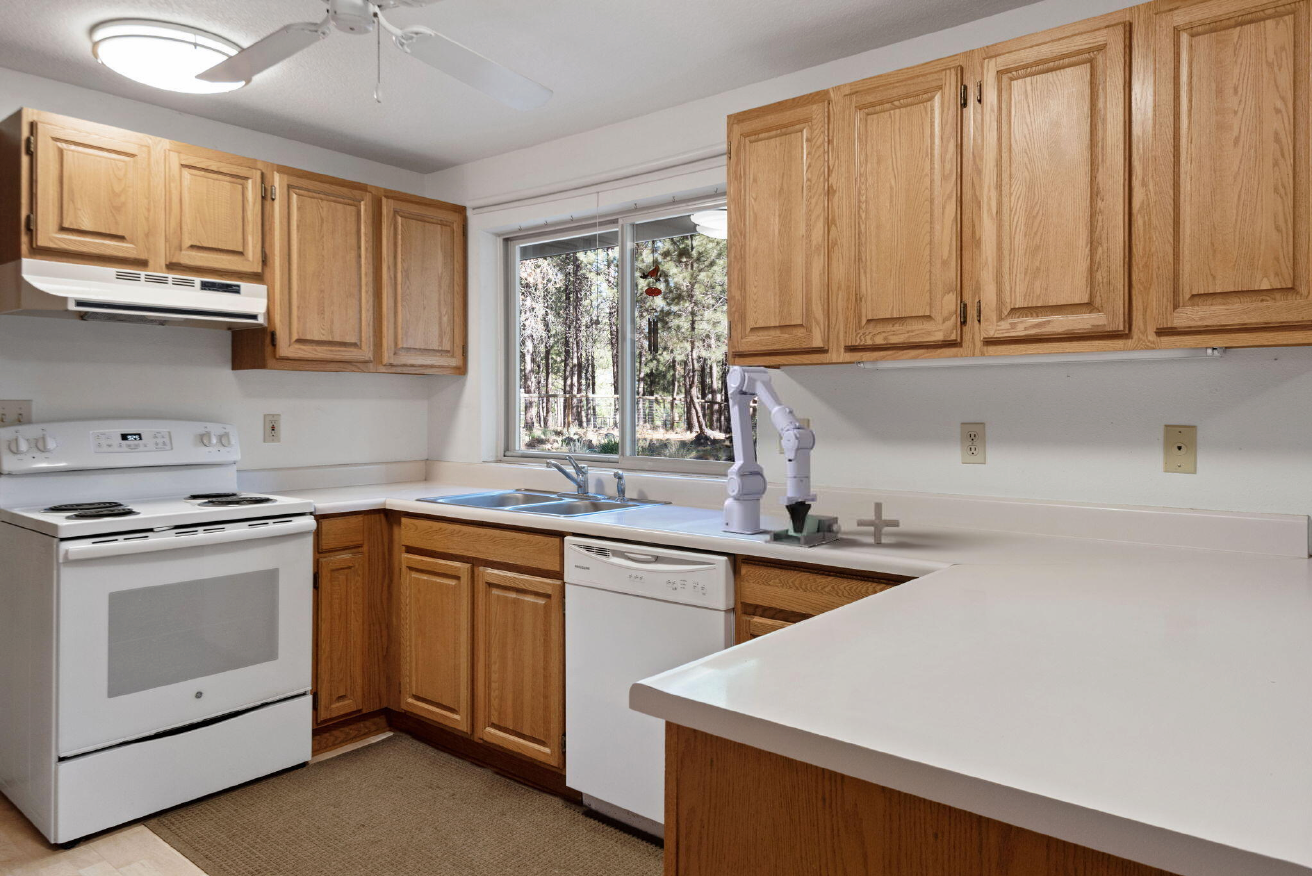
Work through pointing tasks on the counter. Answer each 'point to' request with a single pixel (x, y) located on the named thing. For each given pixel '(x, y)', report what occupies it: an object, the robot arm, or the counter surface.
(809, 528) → the pale mint cube
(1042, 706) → the counter surface
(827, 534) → the motor mount
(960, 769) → the counter surface
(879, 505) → the pipe connector
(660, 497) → the counter surface
